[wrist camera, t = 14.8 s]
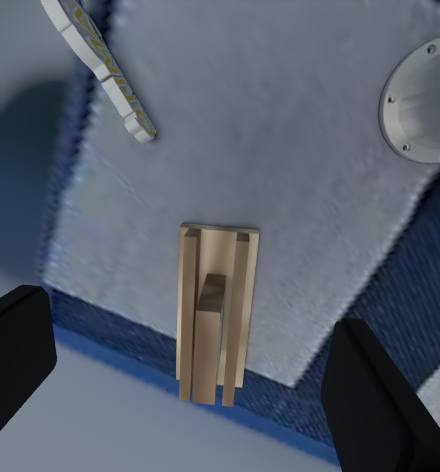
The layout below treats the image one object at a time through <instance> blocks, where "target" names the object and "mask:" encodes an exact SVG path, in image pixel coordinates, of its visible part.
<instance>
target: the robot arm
mask: <svg viewBox="0 0 440 472" xmlns="http://www.w3.org/2000/svg"><path fill="white" fill-rule="evenodd" d="M427 50H428V52H427ZM388 98H389V99H390V102H388ZM379 119H380V127H381V130H382V133H383V136H384V138H385V139H386V141H387V143H388V144H389V146H390V147H391V148H392V149H393V150H394V151H395V152H396V153H398V154H399V155H401V156H402V157H404V158H406V159H409V160H411V161H414V162H420V163H431V164H435V163H440V37H438V38H436V39H434V40H432V41H430V42H427V43H425V44H424V45H422V46H420V47H419V48H417V49H415V50H414V51H413V52H412V53H411V54H409V55H408V56H407V57H406V58H404V60H403V61H402V62H401V63H400V64H399V65H398V66H397V67H396V68H395V70H394V72H393V73H392V75H391V76H390V78H389V79H388V81H387V84H386V86H385V88H384V90H383V93H382V97H381V101H380V109H379ZM403 146H405V148H404V149H403ZM56 362H57V355H56V347H55V339H54V332H53V324H52V316H51V309H50V301H49V295H48V293H47V292H46V291H45V290H44V288H43V287H41V286H32V285H21V286H19V287H17V288H15V289H14V290H12V291H11V292H9V293H7V294H6V295H4V296H3V297H1V298H0V431H1V430H2V428H3V427H4V426H5V425H6V424H7V423H8V421H9V420H10V419H11V418H12V417H13V416H14V415H15V413H16V412H17V411H18V410H19V409H20V408H21V406H22V405H23V404H24V403H25V402H26V400H27V399H28V398H29V397H30V396H31V395H32V394H33V393H34V391H35V390H36V389H37V388H38V386H40V384H41V383H42V382H43V381H44V380H45V379H46V377H47V376H48V375H49V374H50V373H51V371H52V370H53V369H54V367H55V365H56ZM321 402H322V406H323V409H324V412H325V416H326V419H327V422H328V426H329V429H330V432H331V436H332V439H333V442H334V446H335V449H336V452H337V456H338V459H339V462H340V466H341V469H342V472H440V427H439V426H438V425H437V423H436V422H435V420H434V419H433V417H432V416H431V415H430V413H429V412H428V410H427V409H426V407H425V406H424V404H423V403H422V402H421V400H420V399H419V397H418V396H417V394H416V393H415V392H414V390H413V389H412V387H411V386H410V384H409V383H408V381H407V380H406V379H405V377H404V376H403V374H402V373H401V372H400V371H399V369H398V368H397V366H396V365H395V364H394V362H393V361H392V359H391V358H390V356H389V355H388V353H387V352H386V351H385V349H384V348H383V346H382V345H381V343H380V342H379V340H378V339H377V338H376V336H375V335H374V333H373V332H372V330H371V329H370V327H369V326H368V325H367V323H366V322H365V321H364V320H363V319H355V318H345V317H344V318H342V320H341V322H338V321H337V322H336V323H335V326H334V331H333V336H332V340H331V345H330V349H329V354H328V359H327V363H326V368H325V372H324V377H323V382H322V386H321Z"/></svg>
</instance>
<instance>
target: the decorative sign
mask: <svg viewBox="0 0 440 472" xmlns="http://www.w3.org/2000/svg"><path fill="white" fill-rule="evenodd" d="M41 2H42V5H43V6H44V8H45V10H46V12H47V14H48V16H49V17H50V19H51V21H52V22H53V24H54V25H55V27H56V28H57V30H58V31H59V32H60V33H61V34H62V35H63V37H64V38H65V40H66V41H67V42H68V44H69V45H70V46H71V48H72V49H73V50H74V52H75V53H76V54H77V55H78V56H79V57H80V59H81V60H82V61H83V62H84V63H85V64H86V65H87V66H88V67H89V68H90V69H91V70H93V72H94V73H95V75H96V77H97V78H98V80H99V81H101V82H103V83H102V86H103V88H104V89H105V91H106V92H107V94H108V96H109V97H110V99H111V100H112V102H113V103H114V105H115V106H116V108H117V110H118V111H119V113H120V114H121V116H122V117H123V118H125V121H126V123H124V125H125V127H126V128H127V130H128V131H129V132H130V133H131V134H132V135H134V136H135V138H136V139H137V140H138V141H139V142H140V143H142V144H145V143H147V142H148V141H150V140H152V139H154V137H155V136H154V134H156V130H155V128H154V126H153V124H152V122H151V121H150V120H149V117H148V116H147V114H146V112H145V111H144V109H143V107H142V106H141V104H140V102H139V101H138V99H137V97H136V96H135V95H133V96H132V93H133V91H132V89H131V88H130V86H129V84H128V82H127V81H126V79H125V77H124V75H123V74H122V72H121V71H120V69H119V67H118V66H117V64H116V62H115V60H114V59H113V57H112V55H111V54H110V52H109V50H108V49H107V47H106V45H105V43H104V41H103V40H102V38H101V36H102V35H101V33H100V32H99V30H98V29H97V27H96V25H95V24H94V22H93V21H92V19H91V18H90V16H89V15H88V13H87V12H86V11H85V9H84V6H83V4H84V3H83V0H41Z"/></svg>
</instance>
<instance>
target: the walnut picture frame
mask: <svg viewBox="0 0 440 472" xmlns="http://www.w3.org/2000/svg"><path fill="white" fill-rule="evenodd" d="M225 283H226V275H222V274H210V273H207V275H206V279H205V282H204V285H203V289H202V292H201V295H200V298H199V302H198V305H197V308H196V320H195V348H194V376H193V403H201V404H210V405H214V404H215V395H216V387H217V379H218V370H219V362H220V353H221V341H222V326H223V312H224V298H225Z"/></svg>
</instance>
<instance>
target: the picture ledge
mask: <svg viewBox="0 0 440 472" xmlns="http://www.w3.org/2000/svg"><path fill="white" fill-rule="evenodd" d="M258 240H259V230H257V229H245V228H233V227H222V226H210V225H198V224H186V223H183V224H182V225H181V226H180V230H179V274H178V317H177V361H176V380H180V386H179V400H182V401H190V398H191V393H192V389H193V376H194V348H195V320H196V308H197V305H198V302H199V298H200V295H201V292H202V289H203V285H204V282H205V279H206V275H207V273H210V274H222V275H226V283H225V298H224V312H223V326H222V341H221V353H220V362H219V370H218V379H217V384H218V385H224V387H223V399H222V405H223V406H231V407H233V400H234V390H235V387H242V384H243V375H244V366H245V357H246V348H247V339H248V330H249V321H250V312H251V303H252V294H253V285H254V276H255V267H256V258H257V249H258Z"/></svg>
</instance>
